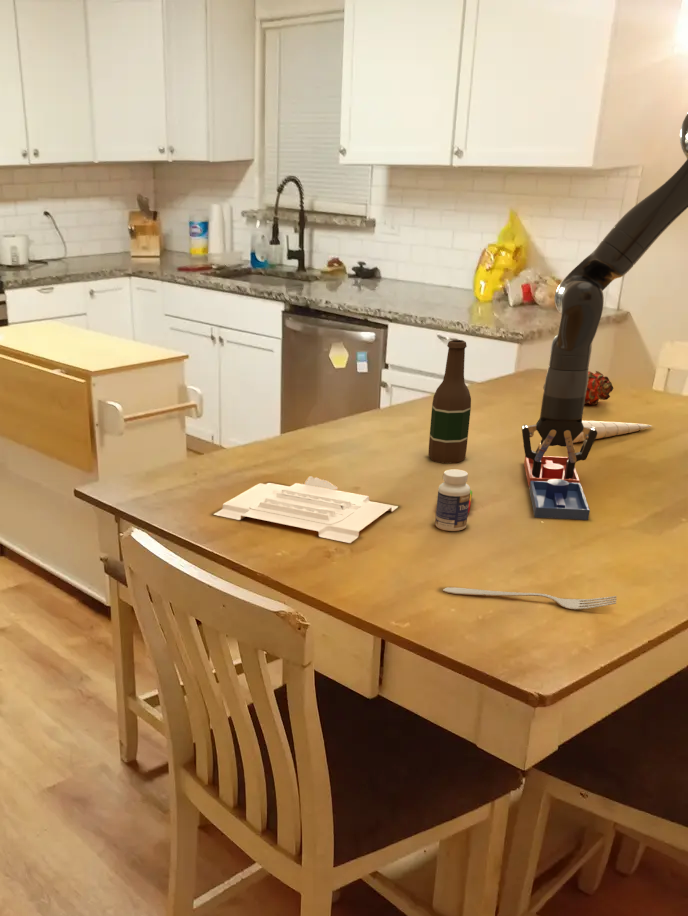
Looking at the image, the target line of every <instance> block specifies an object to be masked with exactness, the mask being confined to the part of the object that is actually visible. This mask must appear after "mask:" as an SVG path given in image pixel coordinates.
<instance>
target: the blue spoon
mask: <svg viewBox="0 0 688 916" xmlns="http://www.w3.org/2000/svg"><path fill="white" fill-rule="evenodd" d="M568 486H569V482H568V481H565V480H561V479H551V480H548V481H547V487H546V494H545V497H546V498H548V499H552V500H553V502H554V506H555V507H556V508H565V502H564V499H566V498H567V493H568Z"/></svg>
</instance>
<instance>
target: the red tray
mask: <svg viewBox="0 0 688 916" xmlns="http://www.w3.org/2000/svg"><path fill="white" fill-rule="evenodd" d="M545 460H552V461H553V463H556V464H560V465H563V466H564V469H563V476H562V479H561V480H565V481H568V482H569V483H580V478H579V474H578V472H577V469H576V467H575V468H574V474H573V477H572V479H570V478H569V479H564V474H565V468H566V461H567V460H568V456H554V455H553V456H549V455H543V457H542V459H541V462H542V464H541V471H540V477H539V478H535V477H533V475H532V466H533V459H531V458H527V457H526V456H525V455H524V461H523V466H524V471H525V475H526V476H525V477H526V481H527V487H528V488H529V489H530V481H546V482H547V481H548V480H551V479H555V478H541V477H542V470H543V465H544V464H545Z"/></svg>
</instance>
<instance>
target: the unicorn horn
mask: <svg viewBox="0 0 688 916" xmlns="http://www.w3.org/2000/svg"><path fill="white" fill-rule="evenodd" d="M582 424H583V426H585V427H589V428H591V427H594V428H595V429H596V431H597V436H596V438H595V440H597V439H603V438H608V437H614V436H620V435H626V434H630V433H635V432H639V430H640V431H644V430H647V429H650V428H652V427H653V425H651V424H645V423H634V422H620V421H603V420H602V421H600V420H582ZM583 434H584V433H583V432H581V433H580V434H579V435H578V436H577V437H576V438H575V439H574V440H573V444H575V443H580V442H584V440H585V439H584V437H583Z"/></svg>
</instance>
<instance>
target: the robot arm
mask: <svg viewBox="0 0 688 916" xmlns="http://www.w3.org/2000/svg"><path fill="white" fill-rule="evenodd" d="M679 142H680V147H681V150H682V152H683V155H684V156H685V158H686V160H685V161H684V163H683V164H682V165H681V166H680V167H679V169H678V170H677V171H676V172H674V174H672V176H670V177H669V178H668V179H667V180H666V181H664V183H663V184H662V185H660V186H659V187H658V188H656V189H655V190H654V191H653V192H651V193H650V194H649V195H647V196H646V197H644V198H643V199H641V200H640V201H639V202H638V203H637V204H635V205H634V206H633V207H631V208H630V209H629V210H628V211H627V212H626V213H624V215H623V216H622V217H621V218H620V219H619V220H618V221H617V223H616V224H614V225H613V227H612V228H611V229H610V230H609V232H608V233H607V234H606V235H605V236H604V237H603V239H602V240H601V241H600V242H599V244H598V245H597V246H596V248H595V249H594V250H593V251H592V252H591V253H589V255H587V256H586V257H585V258H584V259H583V260H581V262H579V263H578V264H577V265H576V266H575V267H574V268H573V269H572V270H571V271H570V272H569V273H568V274H567V275H566V276H565V278H563V279H562V281H561V282H560V284H559V285H558V286H557V289H556V291H555V293H554V305H555V308H556V311H558V312H559V313H560V314H561V317H560V322H559V328H558V333H557V335H555V336H554V337H553V339H552V342H551V346H550V353H549V358H548V359H549V360H548V367H547V372H546V375H545V378H544V384H543V387H542V388H543V393H542V398H541V400H542V401H541V407H540V415H539V419H538V420H537V422H536V424H531V425H527V424H522V426H521V434H522V442H523V449H524V457H525V456H526V457H527V458H531V459H533V466H532V475H533V477H535V478H539V477H540V471H541V464H542V462H541V459H542V457H543V456H545V453H547V451H548V449H549V447H555V446H559V447H565V448H566V452H567V457H568V460H567V461H566V468H565V474H564V479H569V478H570V479H572V477H573V474H574V468H575V469H576V463H577V462H581V461H586V460H587V458H588V456H589V454H590V452H591V449H592V448H593V445H594V443H595V441H596V439H595V438H596V436H597V431H596V429H595V428H594V427H591V428H589V427H585V426H583V424H582V421H583V414H584V409H585V397H586V391H587V385H588V371H590V369H589V368H590V363H591V356H592V350H593V349H592V348H593V347H592V346H593V342H594V339H595V337H596V335H597V331H598V328H599V325H600V322H601V320H602V316H603V312H604V303H605V298H604V296H605V295H604V292H603V291H604V290H605V289H606V288H607V287H608V286H609V285H610V284H611V283H612V282H613V281H615V280H617V279H619V278H622V277H624V276H625V275H626V274H628V273H629V272H630V270H631V269H632V268H633V267H634V266H635V265H636V264H637V263H638V261H640V260H641V258H642V257H643V256H644V254H646V252H647V251H648V250H649V249H650V248H651V247H652V246H653V244H654V243H655V242H656V241H657V239H658V238H659V237H660V236H661V235H662V234H663V233H664V232H665V231H666V230H667V229H668V227H670V226H671V225H672V224H673V223H674V222H675V221H676V220H677V219H678V218H679V217H680V216H681V215H682V214H683V213H684V212H685V211H686V210H687V209H688V113H687V114H686V115H685V117H684V119H683V121H682V124H681V126H680V132H679ZM535 432H537V433H538V434H539V436H540V438H541V439H540V441H539V443H538V445H537V447H536V449H535V450H532V443H531V438H533V437H534V434H535ZM581 432H583V433H584V434H583V437H584V439H585V440H584V441H582V444H581V447H580V449H579V451H578V452H575V447H574V443H573V440H574V439H575V438H576V437H577V436H578V435H579V434H580V433H581Z"/></svg>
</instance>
